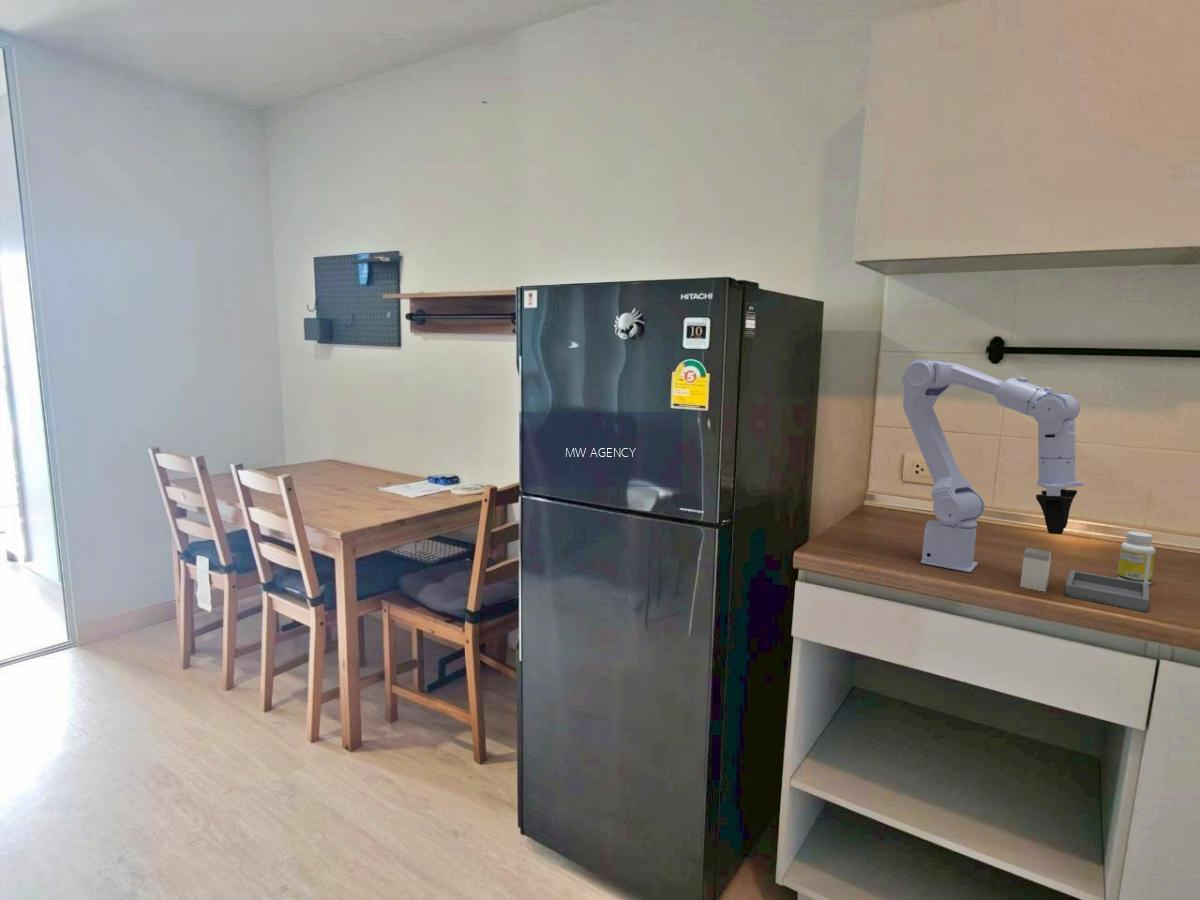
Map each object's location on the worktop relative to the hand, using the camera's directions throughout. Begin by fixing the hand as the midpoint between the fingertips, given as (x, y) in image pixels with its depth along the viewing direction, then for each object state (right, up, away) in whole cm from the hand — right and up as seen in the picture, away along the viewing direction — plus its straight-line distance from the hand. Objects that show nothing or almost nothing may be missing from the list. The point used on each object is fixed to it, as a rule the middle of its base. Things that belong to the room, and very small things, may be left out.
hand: (1057, 530), depth 126 cm
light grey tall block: (-2, -11, +3) cm, 12 cm away
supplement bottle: (+21, -11, +9) cm, 26 cm away
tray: (+9, -12, 0) cm, 15 cm away
